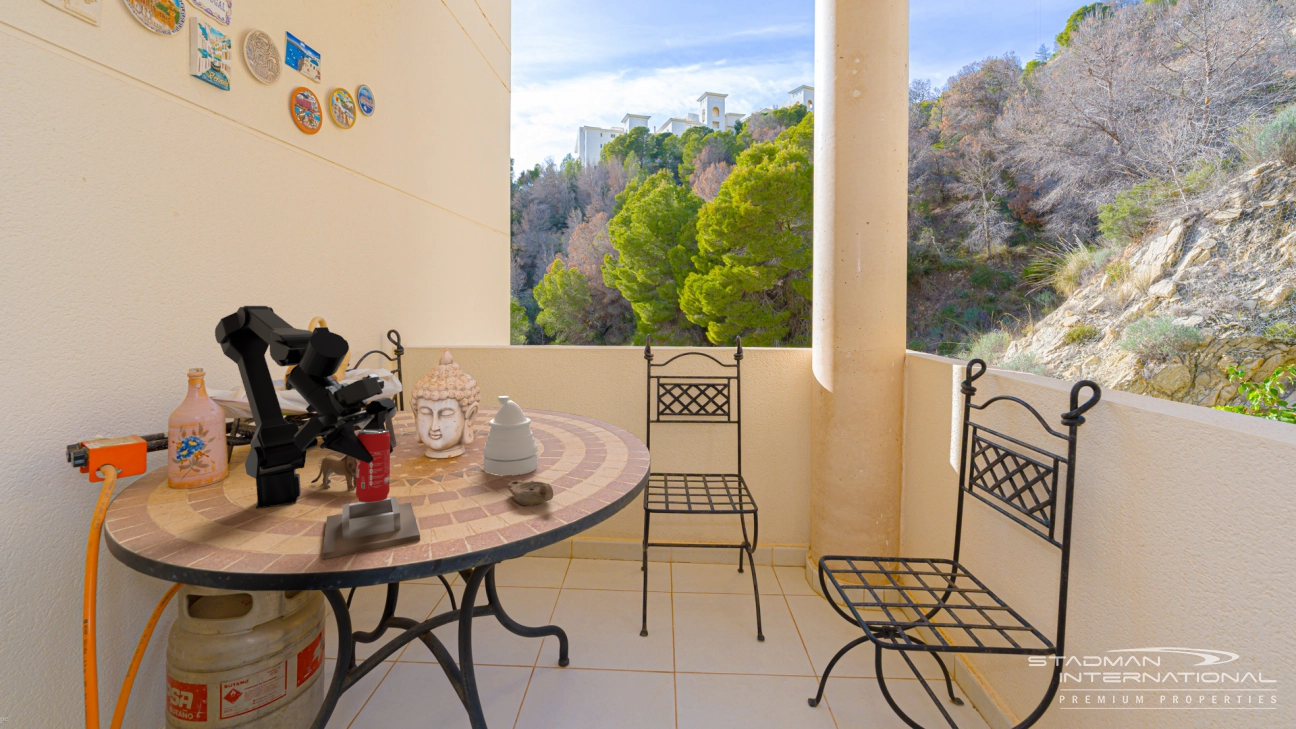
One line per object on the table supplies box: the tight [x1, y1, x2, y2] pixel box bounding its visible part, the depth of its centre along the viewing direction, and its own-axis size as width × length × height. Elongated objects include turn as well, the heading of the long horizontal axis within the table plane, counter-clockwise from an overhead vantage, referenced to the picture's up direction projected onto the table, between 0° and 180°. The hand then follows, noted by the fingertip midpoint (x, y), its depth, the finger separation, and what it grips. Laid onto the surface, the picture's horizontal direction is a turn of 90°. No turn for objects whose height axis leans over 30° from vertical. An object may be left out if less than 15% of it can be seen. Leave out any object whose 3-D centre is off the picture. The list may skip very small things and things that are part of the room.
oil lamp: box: [506, 479, 554, 506], centre depth 104 cm, size 13×8×5 cm, turn 46°
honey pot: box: [483, 395, 539, 476], centre depth 125 cm, size 13×13×18 cm
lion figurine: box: [310, 455, 356, 492], centre depth 111 cm, size 15×5×9 cm, turn 85°
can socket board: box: [322, 496, 421, 560], centre depth 90 cm, size 14×16×4 cm
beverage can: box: [355, 428, 391, 503], centre depth 90 cm, size 5×5×12 cm
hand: (381, 456), depth 90 cm, fingers closed on beverage can, 5 cm apart
